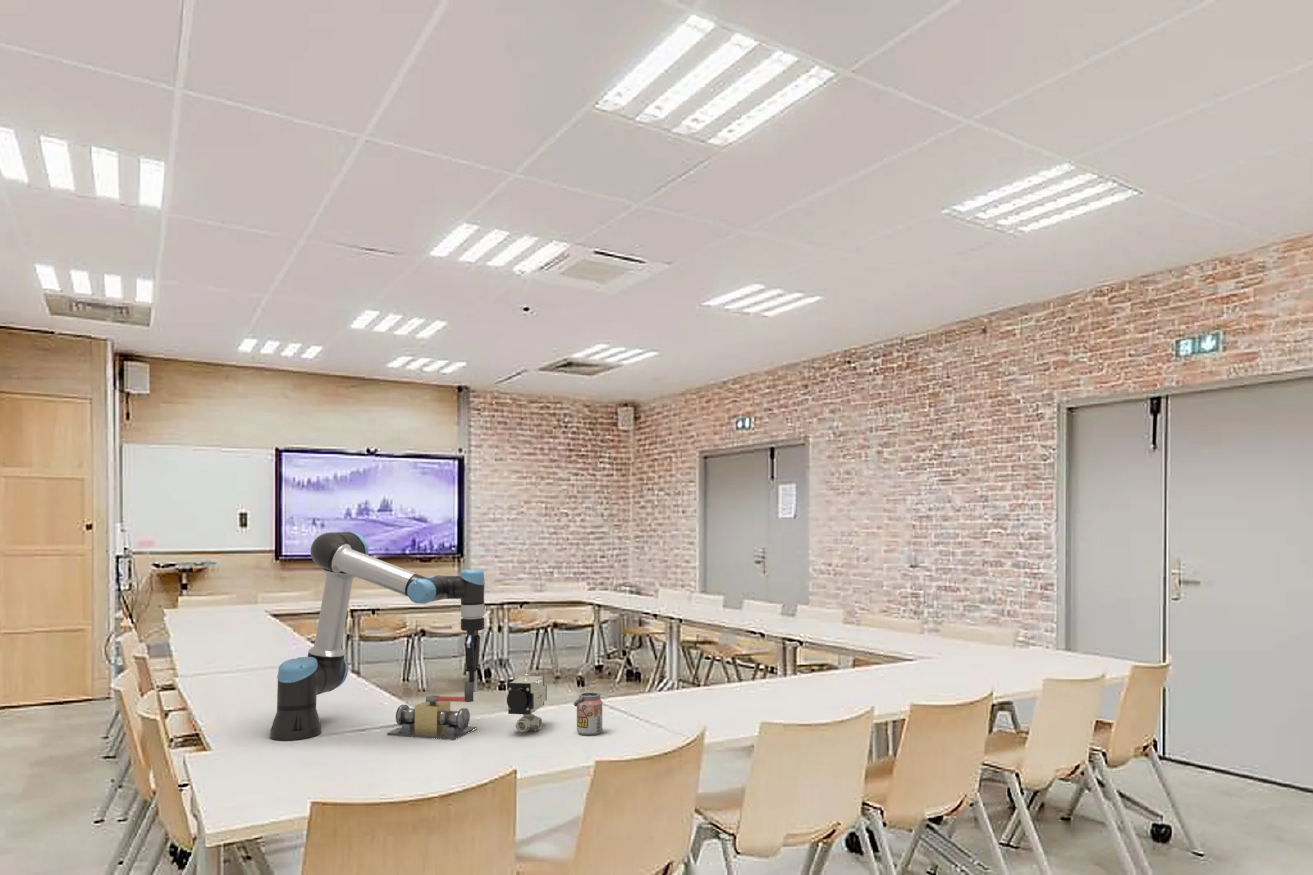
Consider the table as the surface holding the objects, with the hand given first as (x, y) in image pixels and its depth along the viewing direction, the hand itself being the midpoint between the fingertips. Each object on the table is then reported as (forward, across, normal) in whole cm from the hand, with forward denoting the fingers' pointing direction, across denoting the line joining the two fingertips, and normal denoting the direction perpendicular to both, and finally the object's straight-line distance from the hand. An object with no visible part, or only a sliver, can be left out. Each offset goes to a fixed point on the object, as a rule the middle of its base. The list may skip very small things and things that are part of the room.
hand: (472, 691), depth 275 cm
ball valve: (+13, 0, +18) cm, 22 cm away
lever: (+3, +1, -7) cm, 8 cm away
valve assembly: (+13, +1, -13) cm, 18 cm away
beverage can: (+13, +4, +38) cm, 40 cm away
